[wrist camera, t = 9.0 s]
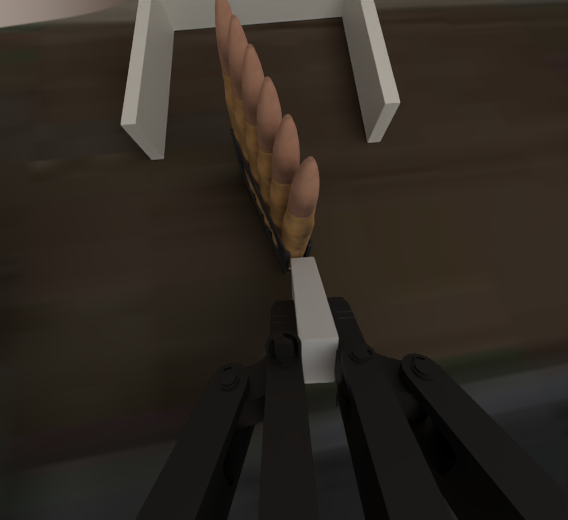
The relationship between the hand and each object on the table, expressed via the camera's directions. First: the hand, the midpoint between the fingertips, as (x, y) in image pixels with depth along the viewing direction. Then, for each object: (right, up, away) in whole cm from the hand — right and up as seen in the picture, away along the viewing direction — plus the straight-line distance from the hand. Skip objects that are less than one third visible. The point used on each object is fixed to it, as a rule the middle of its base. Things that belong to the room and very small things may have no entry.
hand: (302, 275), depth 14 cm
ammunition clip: (-2, +5, +5) cm, 7 cm away
